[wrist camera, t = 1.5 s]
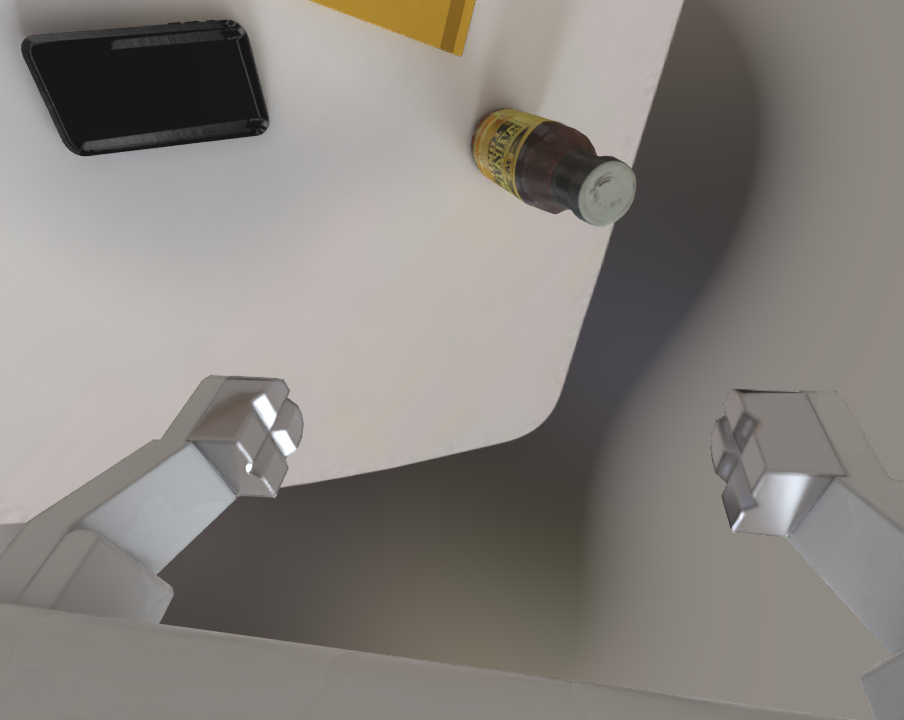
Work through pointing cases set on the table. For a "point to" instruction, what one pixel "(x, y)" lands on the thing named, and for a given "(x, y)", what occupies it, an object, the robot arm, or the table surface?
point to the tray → (415, 18)
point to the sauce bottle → (552, 166)
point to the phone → (148, 85)
